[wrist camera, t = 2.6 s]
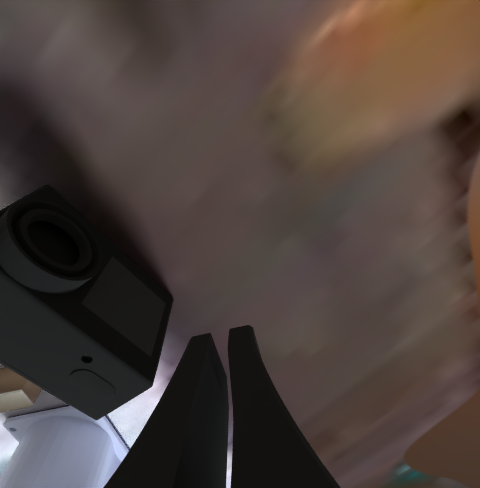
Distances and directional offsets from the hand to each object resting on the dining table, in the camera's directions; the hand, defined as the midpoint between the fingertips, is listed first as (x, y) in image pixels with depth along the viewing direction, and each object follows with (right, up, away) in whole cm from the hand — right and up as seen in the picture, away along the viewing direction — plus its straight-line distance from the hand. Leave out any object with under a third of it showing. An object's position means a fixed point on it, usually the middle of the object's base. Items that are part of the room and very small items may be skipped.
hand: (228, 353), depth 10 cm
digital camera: (-8, +3, +10) cm, 13 cm away
